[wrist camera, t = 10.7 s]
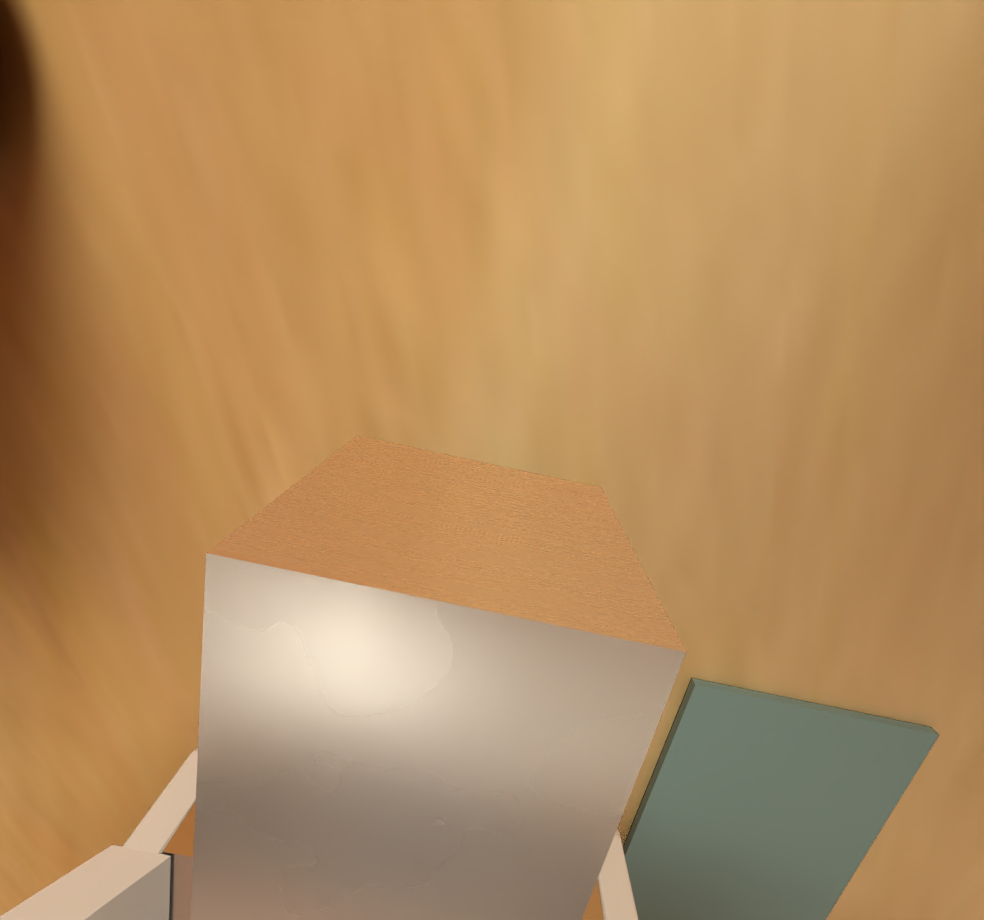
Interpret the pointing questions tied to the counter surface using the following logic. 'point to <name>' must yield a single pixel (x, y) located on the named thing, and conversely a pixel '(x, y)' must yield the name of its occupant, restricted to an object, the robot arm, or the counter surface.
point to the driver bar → (422, 694)
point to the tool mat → (764, 805)
